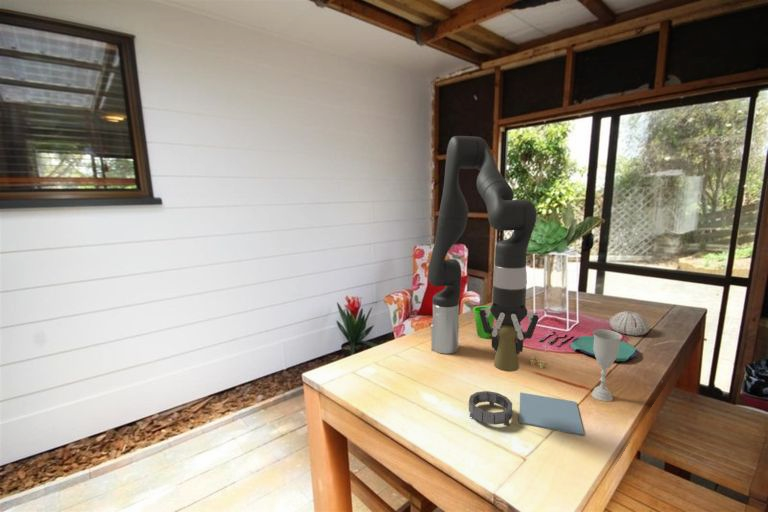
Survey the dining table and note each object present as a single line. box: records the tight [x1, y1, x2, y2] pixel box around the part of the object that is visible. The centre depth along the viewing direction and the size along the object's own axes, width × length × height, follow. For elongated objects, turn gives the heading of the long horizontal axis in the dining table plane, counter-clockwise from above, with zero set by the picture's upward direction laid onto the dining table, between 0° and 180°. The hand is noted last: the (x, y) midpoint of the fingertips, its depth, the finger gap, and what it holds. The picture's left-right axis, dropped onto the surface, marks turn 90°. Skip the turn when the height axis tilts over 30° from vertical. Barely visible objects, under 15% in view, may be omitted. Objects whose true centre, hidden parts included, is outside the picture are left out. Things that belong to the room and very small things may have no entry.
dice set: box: [530, 355, 547, 369], centre depth 118 cm, size 5×5×2 cm
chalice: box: [590, 328, 623, 402], centre depth 97 cm, size 7×7×18 cm
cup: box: [472, 305, 495, 339], centre depth 141 cm, size 9×9×11 cm
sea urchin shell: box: [609, 310, 650, 337], centre depth 143 cm, size 13×14×8 cm
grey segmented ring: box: [468, 390, 513, 427], centre depth 91 cm, size 10×10×4 cm
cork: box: [493, 325, 520, 373], centre depth 88 cm, size 6×6×11 cm
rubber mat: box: [518, 392, 585, 437], centre depth 91 cm, size 14×14×1 cm
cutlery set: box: [538, 332, 638, 362], centre depth 130 cm, size 20×30×2 cm, turn 43°
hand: (507, 350), depth 88 cm, fingers closed on cork, 4 cm apart
